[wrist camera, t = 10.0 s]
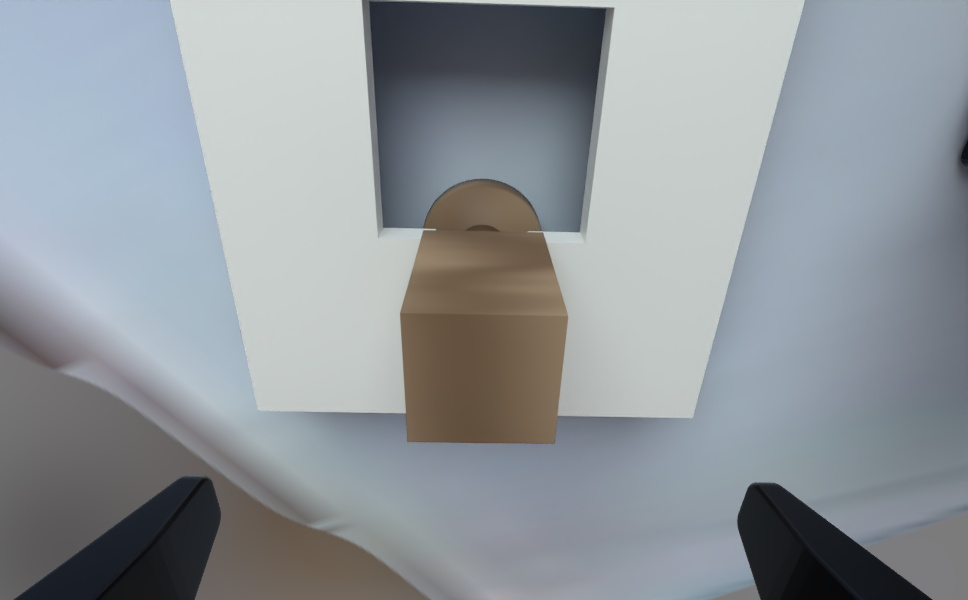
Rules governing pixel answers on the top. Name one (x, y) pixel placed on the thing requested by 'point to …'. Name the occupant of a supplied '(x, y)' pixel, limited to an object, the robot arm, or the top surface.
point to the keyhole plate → (392, 251)
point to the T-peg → (482, 322)
